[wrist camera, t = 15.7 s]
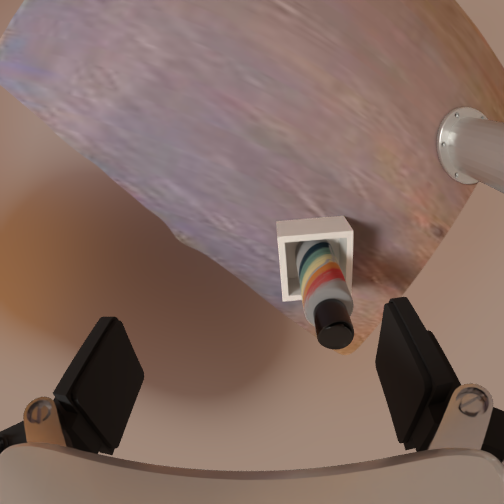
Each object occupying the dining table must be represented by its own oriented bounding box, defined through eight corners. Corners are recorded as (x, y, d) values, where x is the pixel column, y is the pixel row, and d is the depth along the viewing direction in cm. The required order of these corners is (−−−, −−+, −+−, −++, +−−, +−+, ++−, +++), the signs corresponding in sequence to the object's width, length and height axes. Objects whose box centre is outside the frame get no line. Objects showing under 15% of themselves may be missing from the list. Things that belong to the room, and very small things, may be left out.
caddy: (343, 215, 46) (353, 230, 41) (343, 275, 50) (351, 295, 45) (276, 221, 47) (277, 236, 42) (281, 280, 51) (282, 301, 46)
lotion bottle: (338, 251, 47) (374, 336, 29) (312, 274, 49) (332, 366, 31) (314, 226, 46) (341, 305, 28) (286, 251, 48) (296, 340, 30)
